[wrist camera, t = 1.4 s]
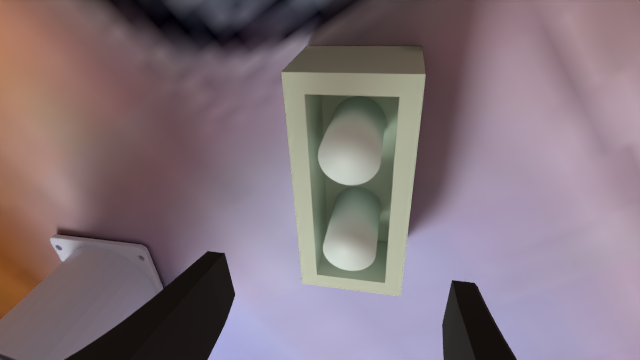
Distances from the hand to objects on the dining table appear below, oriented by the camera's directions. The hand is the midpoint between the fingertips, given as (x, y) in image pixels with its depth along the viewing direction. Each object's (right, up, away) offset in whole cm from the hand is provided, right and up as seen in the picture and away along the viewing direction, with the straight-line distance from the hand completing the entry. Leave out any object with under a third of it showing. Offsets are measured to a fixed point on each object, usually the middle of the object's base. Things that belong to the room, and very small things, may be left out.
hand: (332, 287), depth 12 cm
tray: (+2, +5, +7) cm, 9 cm away
